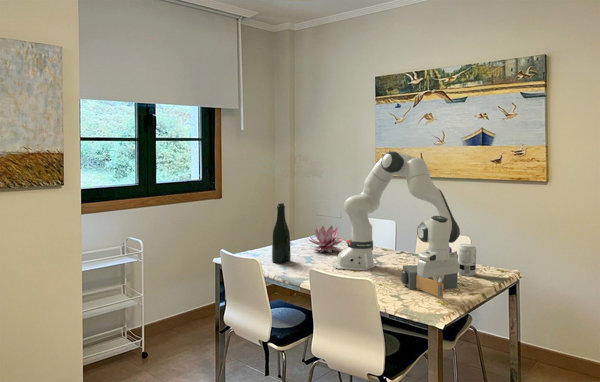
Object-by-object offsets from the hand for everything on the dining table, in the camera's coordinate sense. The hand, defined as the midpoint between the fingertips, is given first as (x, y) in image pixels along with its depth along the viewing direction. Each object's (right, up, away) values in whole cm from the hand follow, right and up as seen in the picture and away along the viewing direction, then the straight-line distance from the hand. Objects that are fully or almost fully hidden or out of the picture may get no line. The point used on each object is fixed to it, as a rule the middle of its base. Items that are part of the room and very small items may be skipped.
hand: (438, 285), depth 211 cm
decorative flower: (-44, +4, +87) cm, 97 cm away
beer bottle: (-70, +1, +62) cm, 94 cm away
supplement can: (+24, -1, +35) cm, 43 cm away
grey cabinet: (+1, -3, +17) cm, 17 cm away
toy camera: (+19, 0, +55) cm, 58 cm away
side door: (-4, -4, +2) cm, 6 cm away
